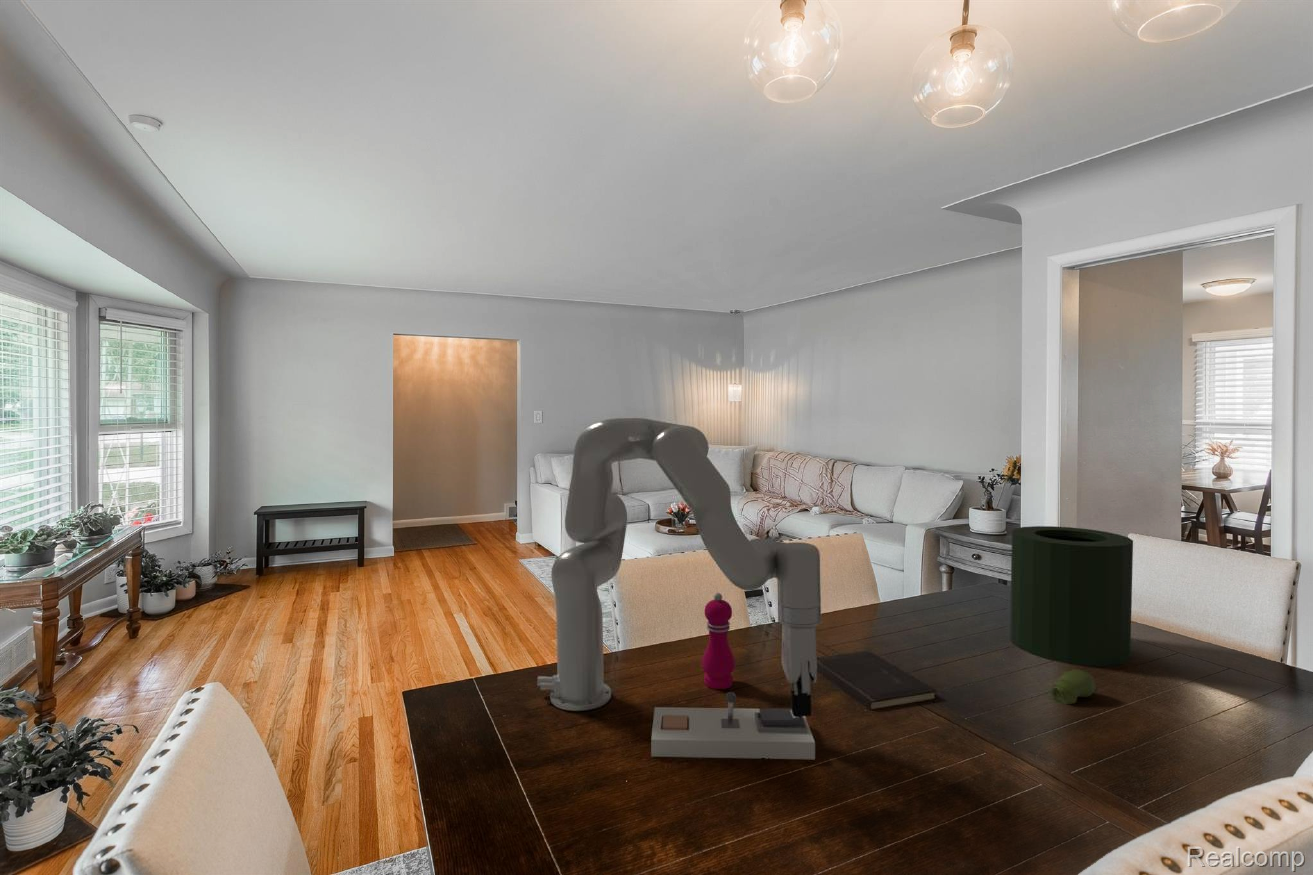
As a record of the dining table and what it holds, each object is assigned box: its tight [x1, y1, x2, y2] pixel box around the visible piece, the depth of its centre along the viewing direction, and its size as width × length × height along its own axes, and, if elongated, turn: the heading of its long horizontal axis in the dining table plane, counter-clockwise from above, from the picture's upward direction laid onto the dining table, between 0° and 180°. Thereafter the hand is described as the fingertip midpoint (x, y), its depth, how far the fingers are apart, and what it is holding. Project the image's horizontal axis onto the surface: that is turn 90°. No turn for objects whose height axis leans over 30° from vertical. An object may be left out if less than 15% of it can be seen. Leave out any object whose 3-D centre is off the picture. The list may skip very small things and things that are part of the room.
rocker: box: [758, 707, 802, 726], centre depth 115 cm, size 7×4×1 cm, turn 87°
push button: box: [663, 715, 687, 730], centre depth 116 cm, size 4×4×3 cm
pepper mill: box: [701, 592, 736, 690], centre depth 139 cm, size 7×7×20 cm
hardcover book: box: [817, 650, 938, 711], centre depth 140 cm, size 16×23×2 cm
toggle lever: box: [725, 691, 737, 724], centre depth 114 cm, size 2×2×7 cm
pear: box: [1050, 669, 1096, 705], centre depth 132 cm, size 6×5×10 cm
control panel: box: [650, 706, 816, 760], centre depth 116 cm, size 28×12×4 cm, turn 87°
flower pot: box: [1009, 525, 1134, 668], centre depth 159 cm, size 25×25×28 cm
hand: (801, 713), depth 115 cm, fingers closed
